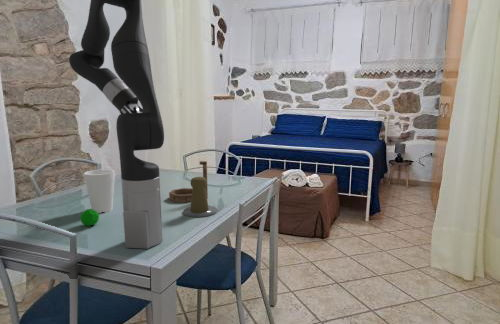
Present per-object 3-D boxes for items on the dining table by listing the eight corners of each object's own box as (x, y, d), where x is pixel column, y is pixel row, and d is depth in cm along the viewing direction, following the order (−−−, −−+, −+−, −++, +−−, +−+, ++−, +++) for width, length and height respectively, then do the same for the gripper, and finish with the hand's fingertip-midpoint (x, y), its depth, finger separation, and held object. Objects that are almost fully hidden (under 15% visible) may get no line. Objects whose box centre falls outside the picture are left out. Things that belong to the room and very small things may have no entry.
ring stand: (203, 203, 128) (202, 164, 126) (166, 201, 130) (164, 163, 127) (210, 195, 138) (209, 159, 136) (175, 194, 140) (174, 158, 138)
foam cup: (88, 207, 123) (85, 170, 121) (117, 204, 127) (114, 168, 124) (86, 216, 115) (83, 176, 112) (117, 212, 118) (114, 173, 116)
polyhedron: (78, 225, 107) (77, 209, 106) (95, 221, 110) (94, 206, 109) (85, 229, 103) (83, 213, 102) (102, 225, 106) (101, 209, 106)
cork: (205, 213, 115) (204, 179, 113) (187, 212, 116) (186, 179, 114) (211, 207, 121) (210, 175, 119) (193, 206, 122) (192, 175, 120)
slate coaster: (213, 217, 112) (213, 216, 112) (178, 216, 114) (178, 214, 114) (220, 207, 123) (220, 205, 123) (189, 206, 125) (188, 204, 124)
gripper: (114, 86, 112) (150, 124, 111) (138, 88, 126) (170, 121, 125) (100, 104, 114) (136, 140, 113) (125, 103, 128) (157, 136, 127)
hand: (154, 130), depth 119 cm, fingers open, 8 cm apart
